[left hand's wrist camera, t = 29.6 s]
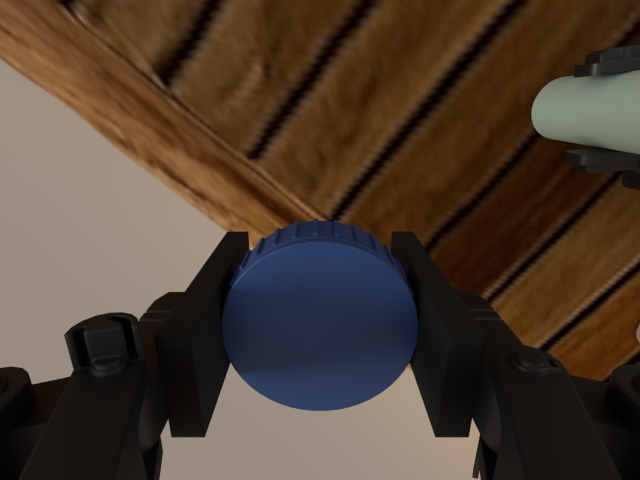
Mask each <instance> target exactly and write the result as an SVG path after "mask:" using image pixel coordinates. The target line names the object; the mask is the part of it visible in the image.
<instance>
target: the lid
mask: <svg viewBox="0 0 640 480" xmlns="http://www.w3.org/2000/svg"><path fill="white" fill-rule="evenodd" d="M229 286H231V287H230V289H229V291H228V293H227V295H226V297H225V299H224V307H223V312H222V319H221V325H222V335H223V344H224V347H225V351H226V353H227V356H228V358H229V360H230V362H231V364H232V365H233V367H234V369H235V370H236V371H237V373H238V374H239V375H240V376H241V378H242V379H243V380H244V381H245V382H246V383H247V384H248V385H250V386H251V387H252V388H253V389H255V390H256V391H257V392H259V393H260V394H262V395H263V396H265V397H267V398H269V399H270V400H273V401H275V402H277V403H280V404H283V405H286V406H289V407H292V408H297V409H302V410H311V411H329V410H338V409H343V408H347V407H351V406H354V405H357V404H360V403H363V402H365V401H367V400H369V399H371V398H373V397H375V396H376V395H378V394H380V393H381V392H383V391H384V390H385V389H387V388H388V387H389V386H391V385H392V384H393V383H394V382H395V381H396V380H397V379H398V378H399V376H400V375H401V374H402V372H403V371H404V370H405V368H406V367H407V365H408V363H409V362H410V360H411V358H412V355H413V353H414V351H415V347H416V343H417V338H418V328H419V321H418V313H417V308H416V304H415V302H414V299H413V297H414V296H415V295H414V292H413V290H412V288H411V286H410V284H409V282H408V280H407V277H406V275H405V273H404V271H403V269H402V267H401V265H400V263H399V261H398V259H397V258H396V259H394V258H393V256H392V255H391V252H390V250H389V248H388V246H387V245H386V244H385V245H384V246H383V245H382V244H381V243H380V242H379V241H377V240H376V239H375V237H374V235H373V234H372V233H370V235H369V234H367V233H365V232H364V231H362V230H360V229H357V226H356V225H353V226H350V225H346V224H342V223H338V220H334V222H331V221H318V219H314V221H309V222H301V223H298V221H296V222H294V225H290V226H287V227H285V228H282V229H280V228H277V229H276V231H275V232H274V233H273V234H271V235H269V236H268V237H266V238H265V239H264V238H263V237H262V238H261V239H260V241H259V243H258V245H257V246H256V247H255V248H254V249H253V250H252V251H251V250H249V251H248V252H247V254H246V256H245V258H244V260H243V262H242V264H241V265H240V264H239V266H238V268H237V270H236V272H235V274H234V276H233V278H232V280H231V282H230V284H229Z"/></svg>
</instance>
